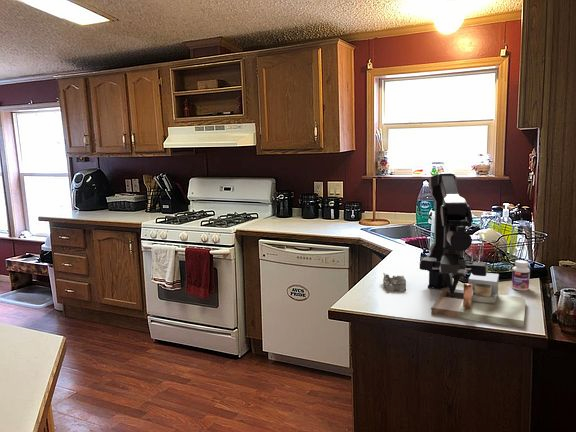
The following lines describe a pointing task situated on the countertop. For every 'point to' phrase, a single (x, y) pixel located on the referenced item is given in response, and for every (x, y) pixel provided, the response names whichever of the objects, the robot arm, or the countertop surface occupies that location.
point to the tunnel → (485, 281)
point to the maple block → (483, 290)
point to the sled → (475, 296)
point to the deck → (482, 308)
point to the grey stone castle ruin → (394, 282)
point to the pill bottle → (520, 275)
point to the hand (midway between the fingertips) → (452, 293)
